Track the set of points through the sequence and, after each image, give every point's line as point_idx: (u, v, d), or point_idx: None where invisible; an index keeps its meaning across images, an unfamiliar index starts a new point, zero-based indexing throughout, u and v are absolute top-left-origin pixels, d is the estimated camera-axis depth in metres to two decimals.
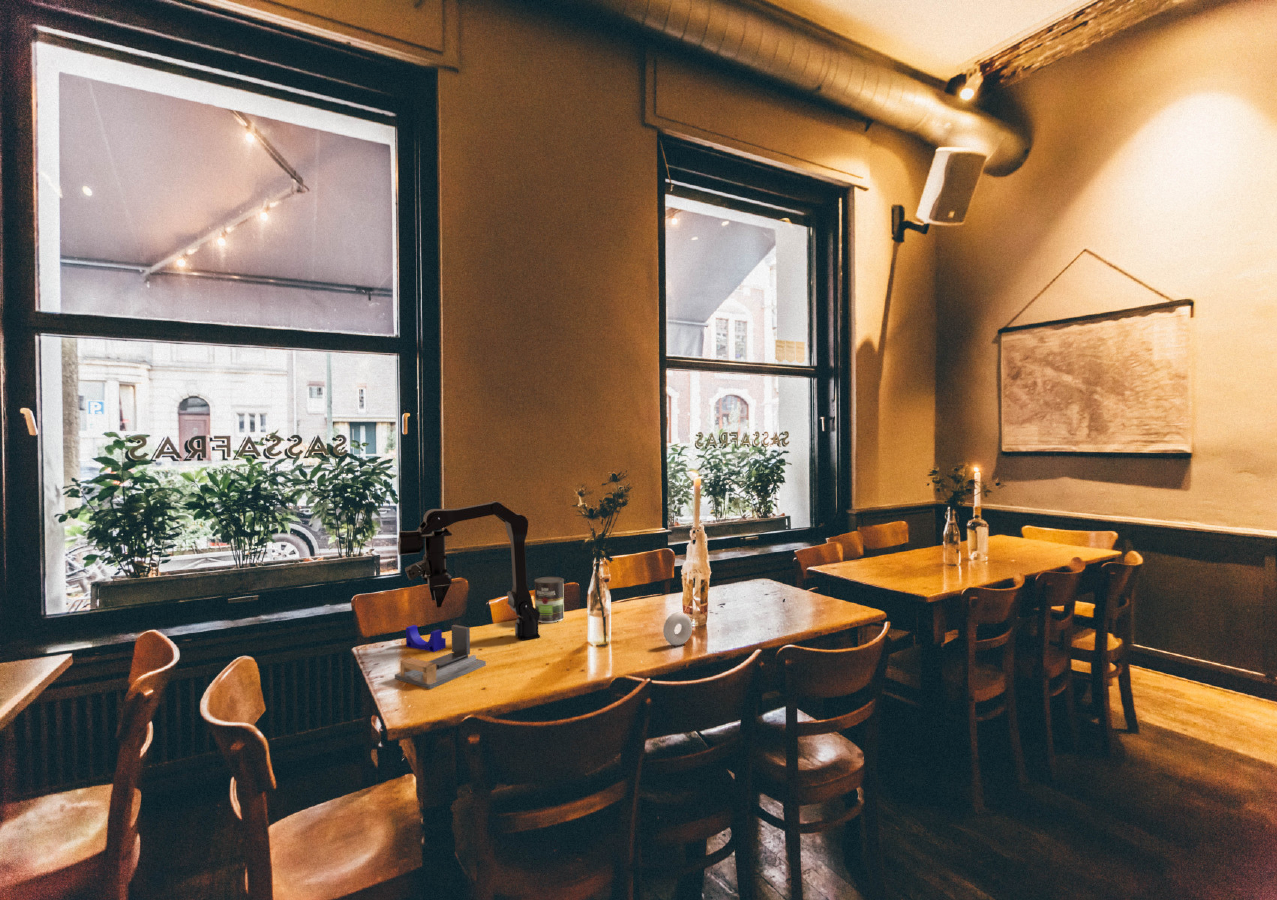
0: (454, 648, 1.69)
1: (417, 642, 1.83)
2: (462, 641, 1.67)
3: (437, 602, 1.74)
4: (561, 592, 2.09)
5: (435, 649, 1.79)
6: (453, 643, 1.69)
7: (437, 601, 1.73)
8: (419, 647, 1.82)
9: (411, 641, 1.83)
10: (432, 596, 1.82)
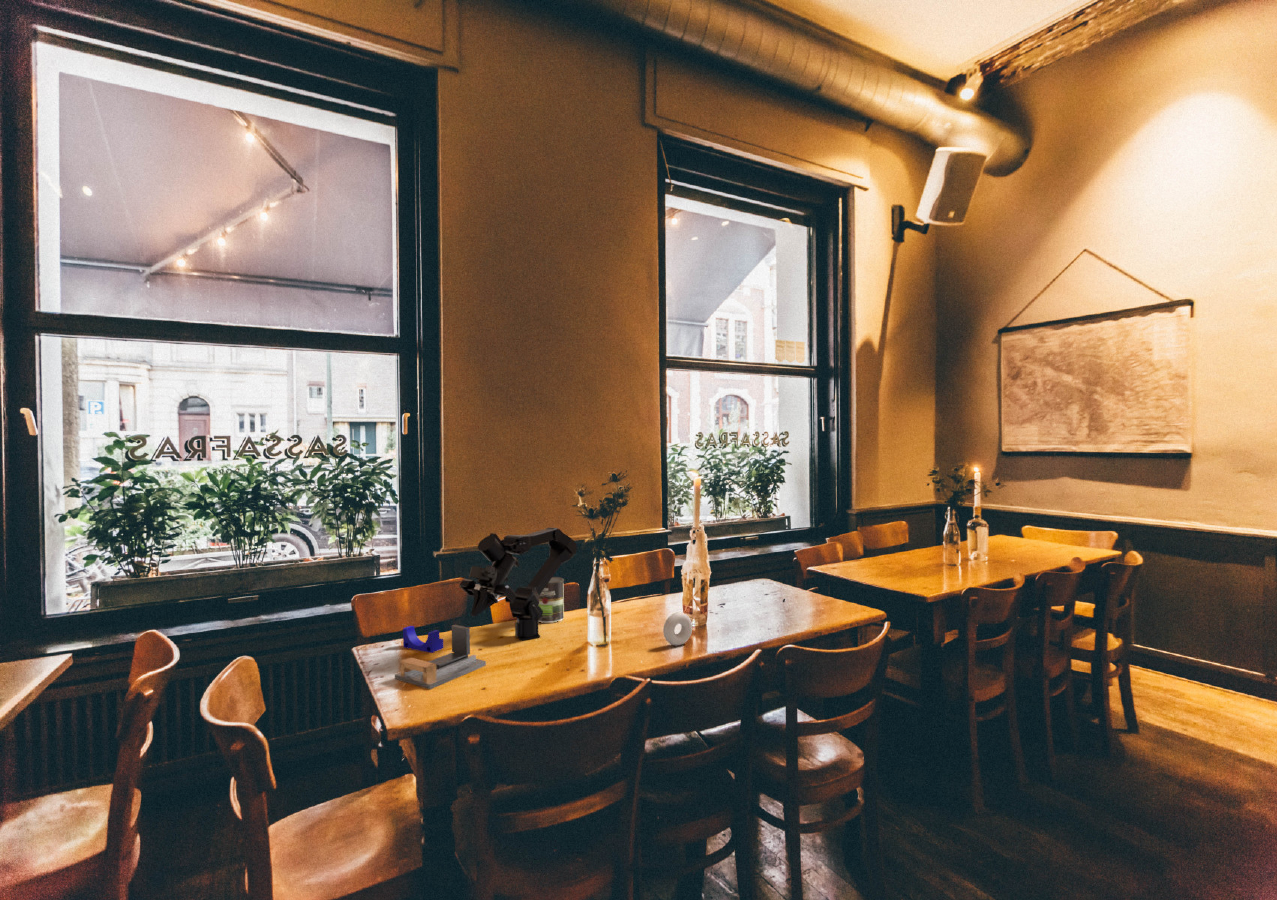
0: (454, 648, 1.69)
1: (414, 643, 1.82)
2: (462, 641, 1.67)
3: (476, 610, 1.73)
4: (561, 592, 2.09)
5: (433, 650, 1.78)
6: (453, 643, 1.69)
7: (477, 609, 1.73)
8: (416, 648, 1.81)
9: (408, 642, 1.82)
10: None
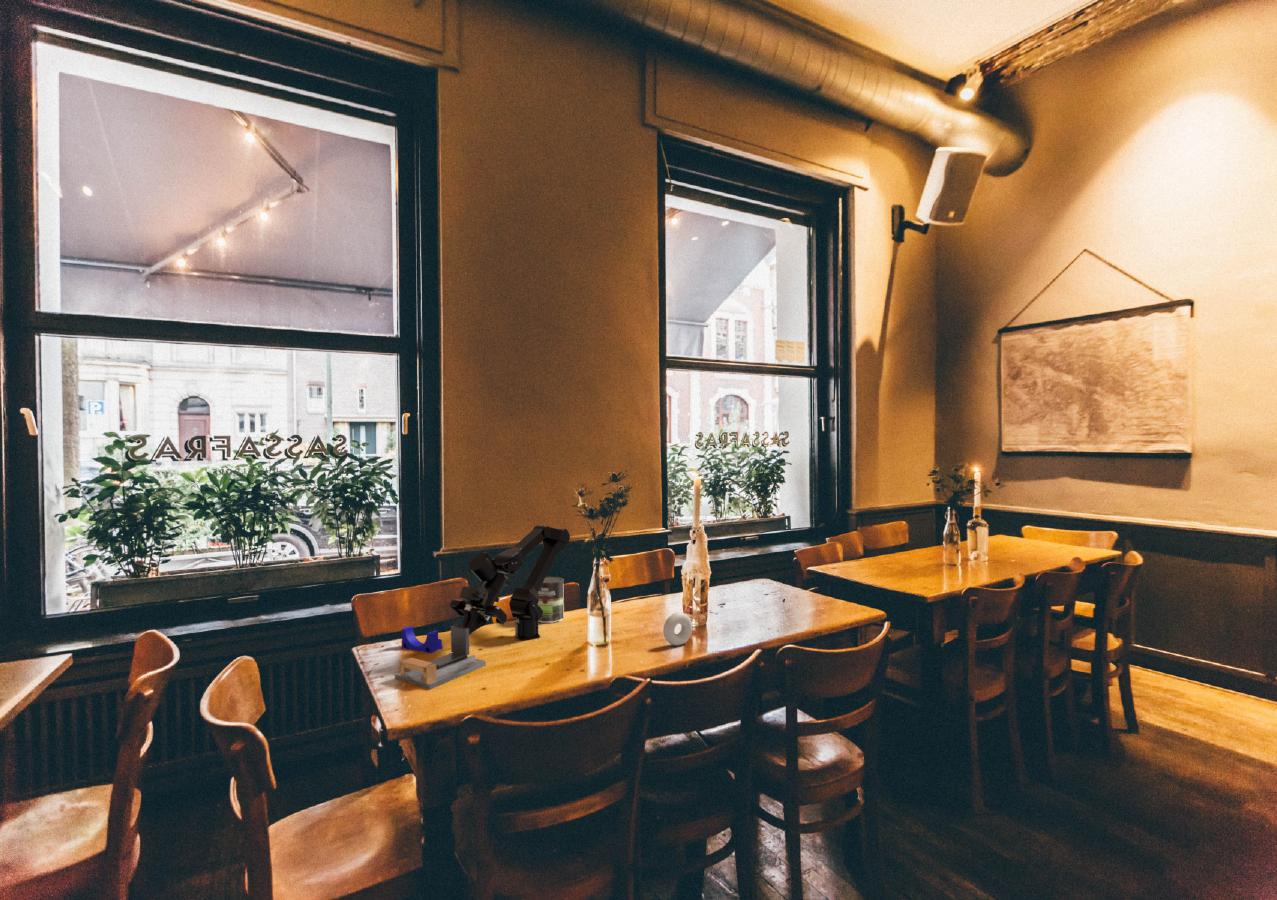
0: (453, 648, 1.69)
1: (413, 643, 1.82)
2: (462, 641, 1.67)
3: None
4: (561, 592, 2.09)
5: (431, 650, 1.78)
6: (452, 643, 1.69)
7: None
8: (415, 648, 1.80)
9: (407, 642, 1.82)
10: None
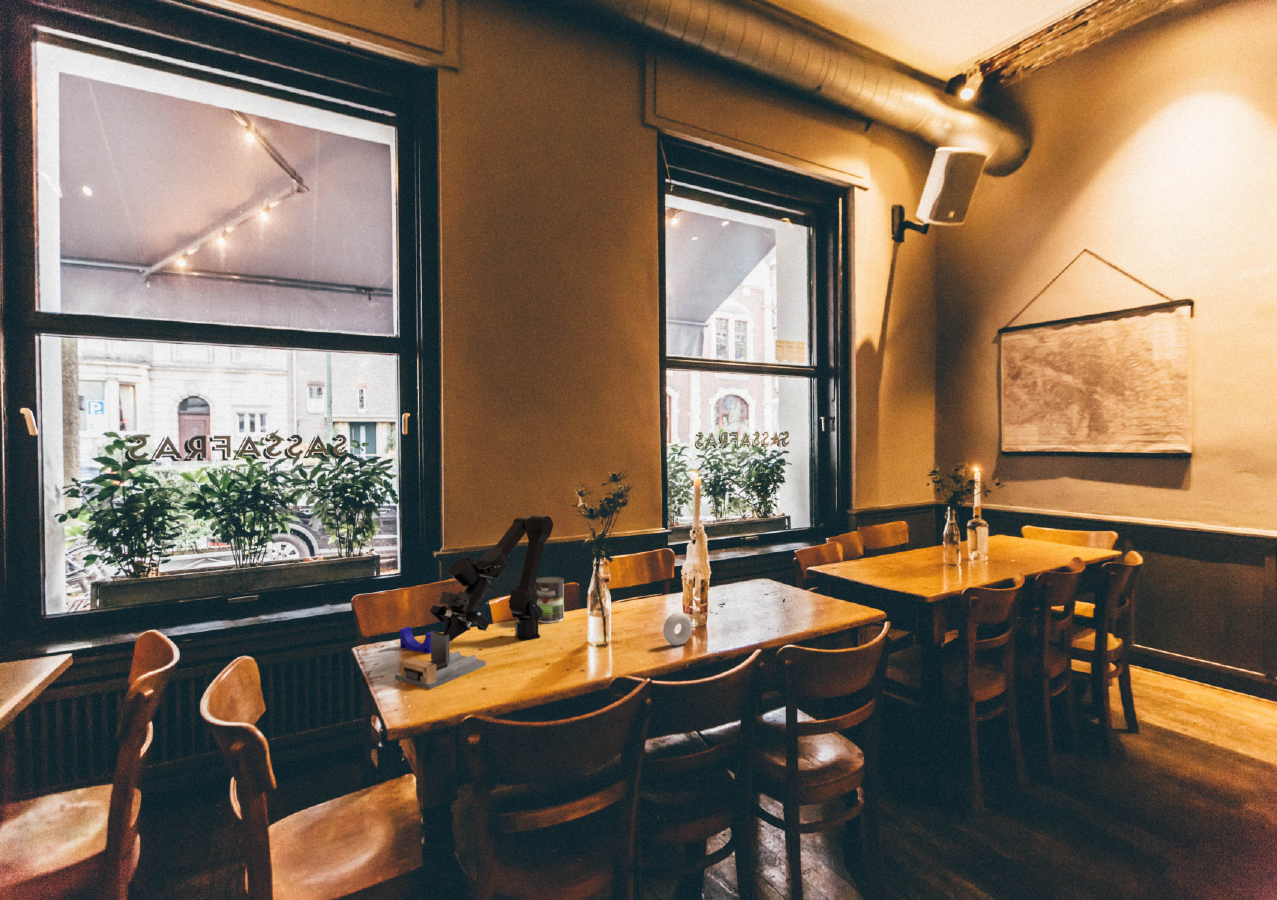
0: (433, 656, 1.63)
1: (411, 644, 1.81)
2: (442, 648, 1.61)
3: None
4: (561, 592, 2.09)
5: (430, 651, 1.78)
6: (432, 651, 1.63)
7: None
8: (414, 649, 1.80)
9: (405, 643, 1.82)
10: None
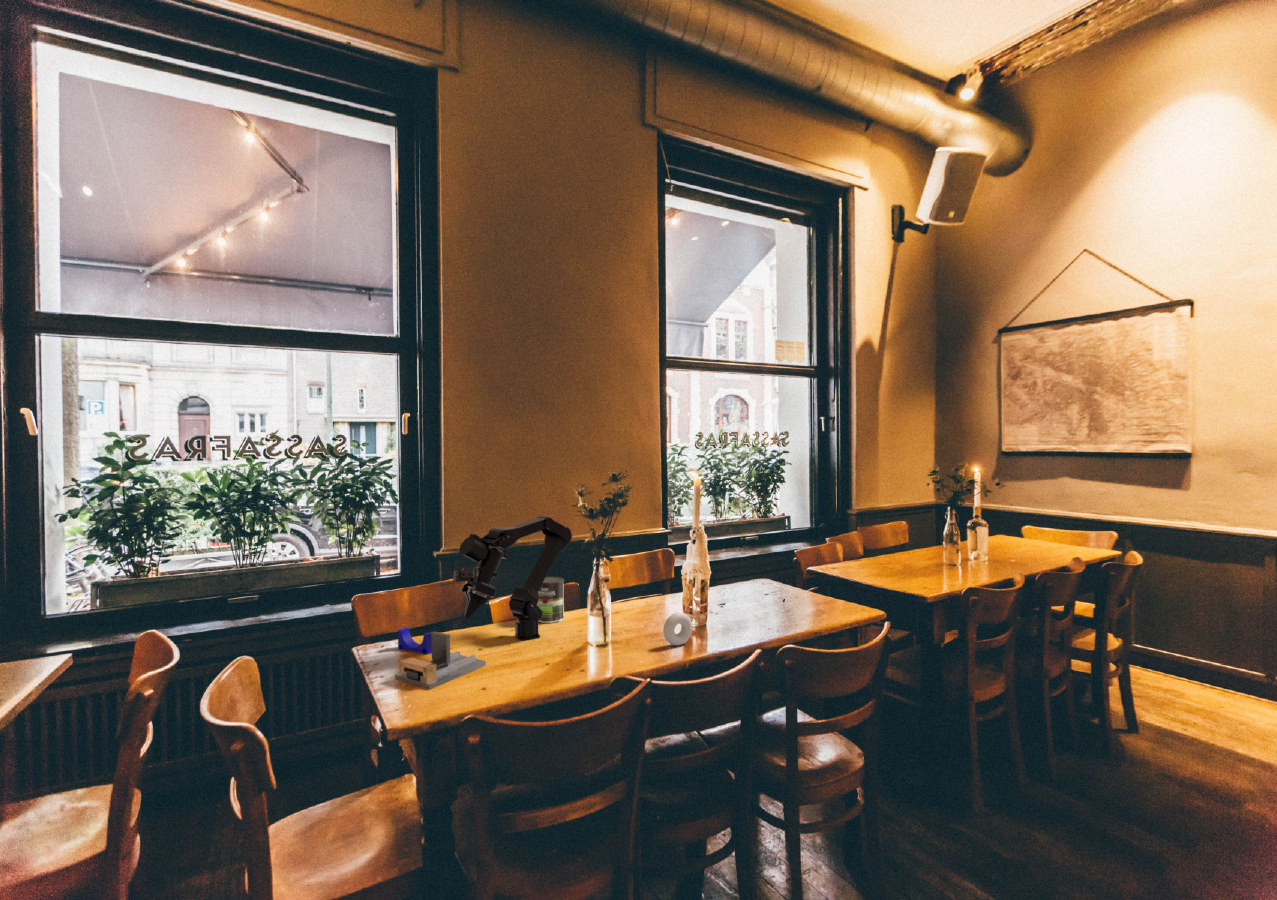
0: (434, 656, 1.63)
1: (409, 645, 1.81)
2: (442, 648, 1.61)
3: (467, 612, 1.73)
4: (561, 592, 2.09)
5: (428, 651, 1.77)
6: (433, 650, 1.63)
7: (468, 611, 1.73)
8: (412, 650, 1.79)
9: (403, 644, 1.81)
10: None
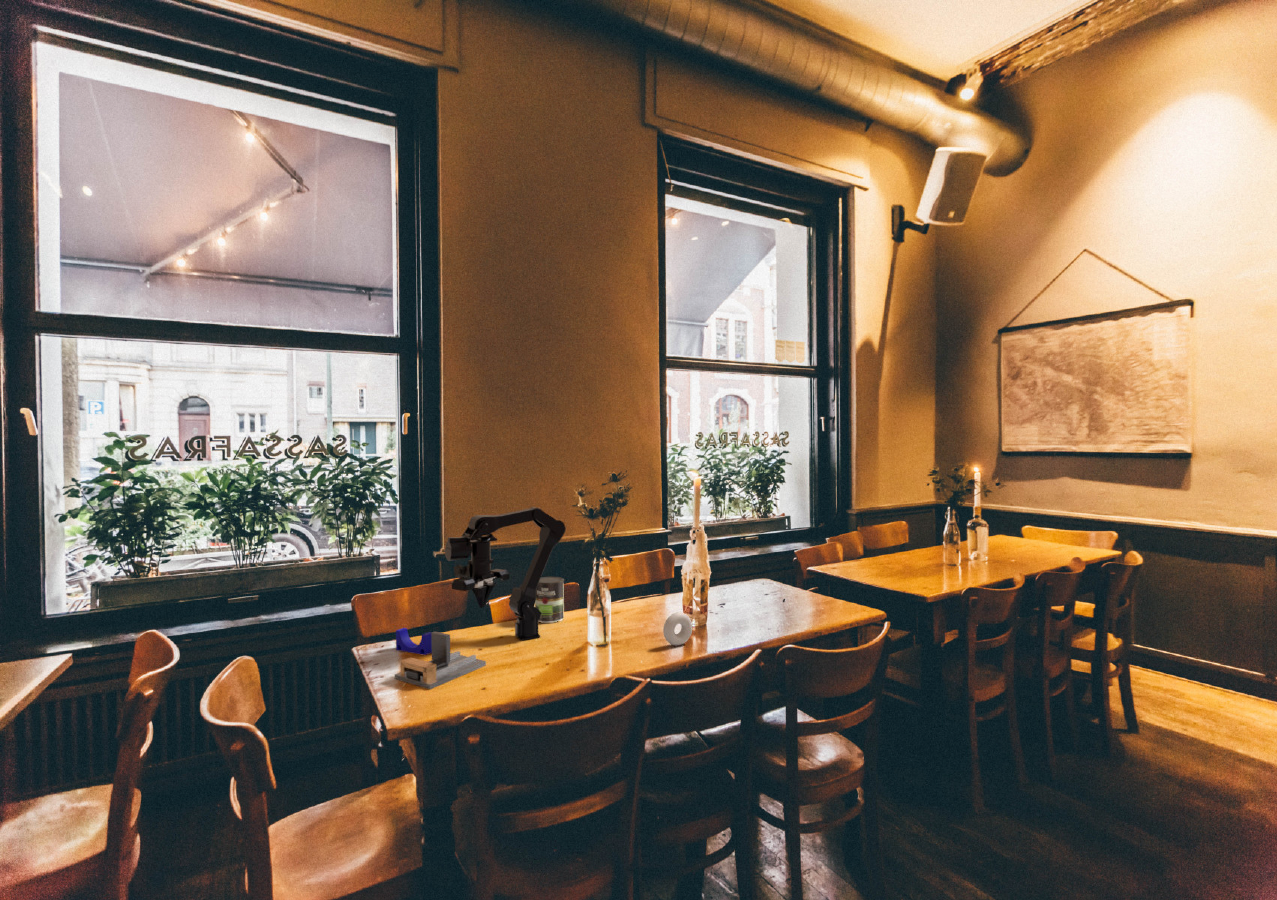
0: (434, 656, 1.63)
1: (407, 645, 1.80)
2: (442, 648, 1.61)
3: (478, 602, 1.82)
4: (561, 592, 2.09)
5: (426, 652, 1.77)
6: (433, 650, 1.63)
7: (478, 601, 1.82)
8: (410, 650, 1.79)
9: (401, 644, 1.80)
10: None
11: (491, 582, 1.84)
